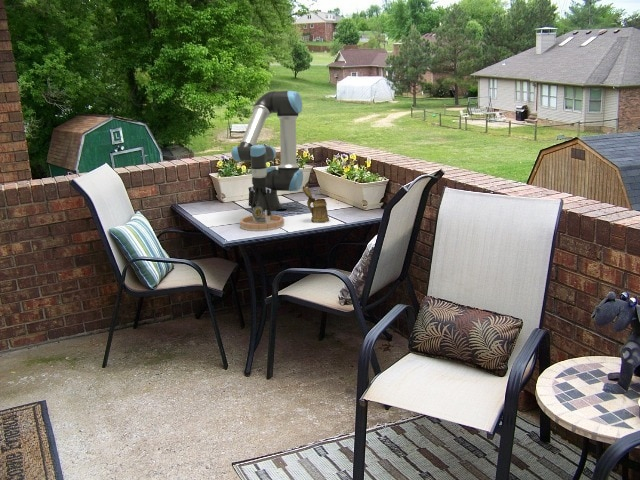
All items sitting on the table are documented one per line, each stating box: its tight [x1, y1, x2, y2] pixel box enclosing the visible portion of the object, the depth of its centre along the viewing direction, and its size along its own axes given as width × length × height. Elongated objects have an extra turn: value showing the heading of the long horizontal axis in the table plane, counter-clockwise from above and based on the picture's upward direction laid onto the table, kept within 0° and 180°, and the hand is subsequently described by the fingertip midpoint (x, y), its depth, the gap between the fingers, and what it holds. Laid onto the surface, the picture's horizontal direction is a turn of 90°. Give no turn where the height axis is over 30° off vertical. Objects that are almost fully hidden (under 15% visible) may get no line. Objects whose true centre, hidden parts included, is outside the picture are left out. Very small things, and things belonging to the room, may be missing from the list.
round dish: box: [239, 213, 285, 232], centre depth 356 cm, size 22×22×3 cm
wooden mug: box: [302, 185, 330, 224], centre depth 360 cm, size 9×14×18 cm, turn 71°
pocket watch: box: [251, 201, 266, 222], centre depth 355 cm, size 8×8×10 cm
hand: (261, 220), depth 355 cm, fingers closed on pocket watch, 8 cm apart
